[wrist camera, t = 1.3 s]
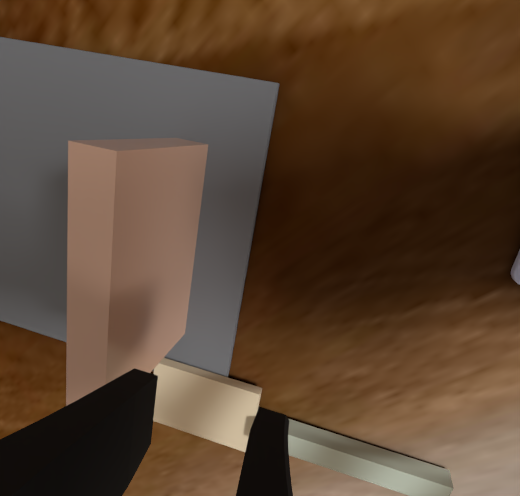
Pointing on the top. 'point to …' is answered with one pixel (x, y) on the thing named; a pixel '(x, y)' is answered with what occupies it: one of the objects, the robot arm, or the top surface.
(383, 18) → the top surface
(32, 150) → the mat
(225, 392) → the turner
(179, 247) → the block
